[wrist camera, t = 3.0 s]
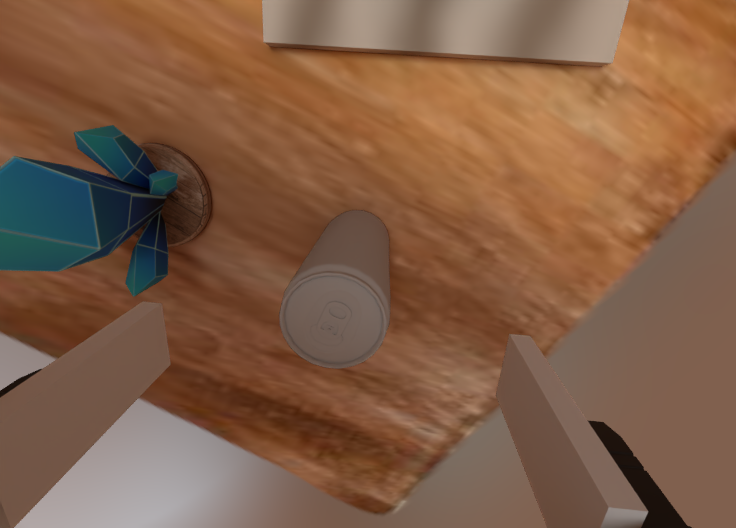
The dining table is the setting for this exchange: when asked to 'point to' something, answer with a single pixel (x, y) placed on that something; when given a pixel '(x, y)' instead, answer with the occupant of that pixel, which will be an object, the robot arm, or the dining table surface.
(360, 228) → the beverage can
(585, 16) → the holder board
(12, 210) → the gemstone
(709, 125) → the dining table surface
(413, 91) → the dining table surface
